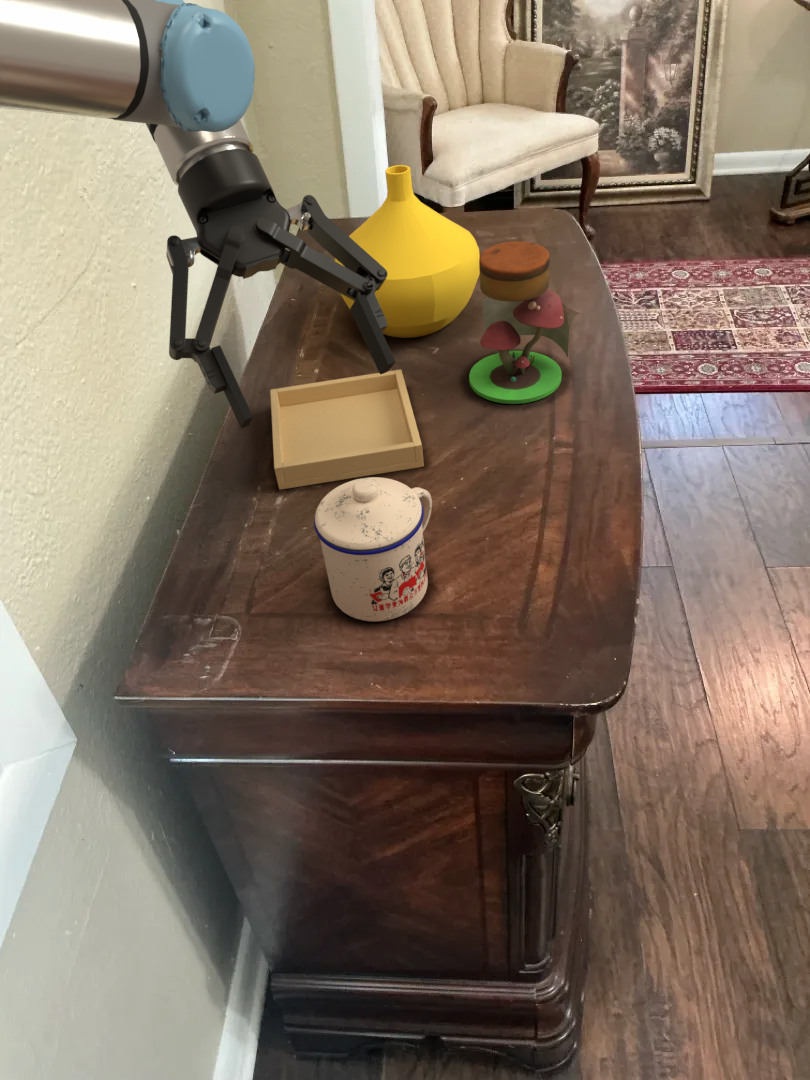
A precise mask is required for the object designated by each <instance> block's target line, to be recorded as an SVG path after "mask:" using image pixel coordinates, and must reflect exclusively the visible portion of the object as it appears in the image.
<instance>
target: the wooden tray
mask: <svg viewBox="0 0 810 1080" xmlns="http://www.w3.org/2000/svg"><path fill="white" fill-rule="evenodd" d="M269 390H270V391H269V393H270V415H271V431H272V433H271V435H272V452H273V453H272V454H273V469H274V473H275V477H276V482H277V486H278V490H279V491H280V490H286V489H293V488H299V487H305V486H312V485H317V484H324V483H325V484H326V483H330V482H336V481H337V482H338V481H343V480H350V479H354V478H356V479H357V478H363V477H367V476H368V477H369V476H373V475H380V474H386V473H392V472H398V471H406V470H411V469H418V468H423V467H425V464H424V454H423V453H424V452H423V444H422V440H421V437H420V432H419V429H418V426H417V421H416V418H415V415H414V411H413V407H412V404H411V399H410V396H409V392H408V389H407V384H406V381H405V378H404V374H403V370H402V369H394V370H389V371H388V372H386V373H383V374H381V375H380V373H379V372H375V373H368V374H361V375H356V376H350V377H344V378H336V379H331V380H330V379H329V380H323V381H318V382H317V381H316V382H312V383H311V382H310V383H303V384H299V385H298V384H297V385H292V386H284V387H278V388H272V389H269Z"/></svg>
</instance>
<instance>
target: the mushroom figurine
mask: <svg viewBox="0 0 810 1080" xmlns="http://www.w3.org/2000/svg"><path fill="white" fill-rule="evenodd" d="M479 255H480V258H479V269H480V274H479V289H480V291H481V293H482V294H483V295H484V296H486V297H485V298H483V299H481V306H482V309H481V310H482V311H481V312H482V319H483V327H482V328H483V330H482V336H481V337H480V338H481V339H480V340H479V344H480V346H481V347H482V348H485V349H489V350H494V351H497V353H493V354H491V355H487V356H486V357H483V358H482V359H480V360H478V361H477V362H476V363H475V364H474V365H473V366H472V367H471V369H470V371H469V373H468V374H469V375H468V381H469V386H470V388H471V389H472V391H473V392H474V393H475V394H476V395H478V396H479V397H481V398H482V399H485V400H487V401H491V402H495V403H498V404H507V405H520V404H529V403H532V402H536V401H539V400H542V399H545V398H546V397H548V396H550V395H552V394H553V393H554V392H555V391H557V389H558V388H559V387H560V386H561V382H562V376H563V375H562V373H563V372H562V369H561V367H560V365H559V364H558V363H557V362H556V361H555V360H554V359H553V358H551V357H549V356H547V355H544V354H542V353H539V352H534V351H532V348H533V346H534V345H536V344H537V343H538V342H539V340H540V339H541V338H542V337H544V338H548V339H550V340H552V341H553V342H554V343H555V344H557V345H558V346H559V348H561V350H562V351H563V352H564V354H565V356H566V357H567V358H569V338H570V329H571V325H572V323H573V321H574V318H575V317H576V316H578V315H580V312H578V311H576V310H573V309H572V308H570V307H567V306H566V305H565V304H563V302H562V299H561V298H560V296H559V294H557V293H556V292H554V291H552V290H551V289H549V287H550V261H551V260H550V252H549V251H548V249H546V248H545V247H544V246H542V245H540V244H537V243H534V242H530V241H522V240H521V241H506V242H500V243H497V244H494V245H492V246H489V247H488V248H486V249H484V251H482V252H481V254H479ZM521 336H533V337H532V339H531V340H529V341H528V342H527V343H526V345H525V346H524V348H523V350H513V349H515V348H517V347H518V346H519V345H520V344H521V342H522V340H521Z"/></svg>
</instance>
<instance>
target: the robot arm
mask: <svg viewBox="0 0 810 1080" xmlns="http://www.w3.org/2000/svg"><path fill="white" fill-rule="evenodd" d="M255 72H256V63H255V59H254V54H253V50H252V47H251V44H250V41H249V39H248V37H247V35H246V34H245V32H244V30H243V29H242V27H240V25H239V23H238V22H236V20H234V19H233V18H232V17H231V16H230V15H228V14H227V13H226V12H224V11H221V10H218V9H215V8H209V7H203V6H200V5H198V4H196V3H191V2H185V1H184V0H0V109H7V110H16V111H26V112H27V111H28V112H35V113H36V112H38V113H47V114H59V115H67V116H76V117H87V118H97V119H98V118H99V119H107V120H114V121H120V122H130V123H139V124H145V125H146V127H147V129H148V131H149V133H150V135H151V138H152V140H153V142H154V143H155V145H156V147H157V148H158V151H159V153H160V156H161V158H162V160H163V163H164V165H165V166H166V169H167V171H168V174H169V176H170V178H171V181H172V182H173V183H174V185H176V187H177V193H178V196H179V198H180V200H181V203H182V205H183V207H184V210H185V211H186V213H187V216H188V218H189V219H190V222H191V224H192V226H193V228H194V230H195V233H196V236H194V237H188V238H183V239H181V237H180V236H178V235H176V234H175V235H170V236H169V237H168V238H167V240H166V259H167V262H168V265H169V268H170V271H171V274H172V284H171V300H170V301H171V302H170V303H171V305H170V322H169V325H170V326H169V340H168V344H169V345H168V355H169V357H170V358H171V359H172V360H174V361H180V360H182V359H190V360H193V361H194V363H197V366H198V368H199V370H200V371H201V374H202V376H203V378H204V380H205V383H206V384H207V386H208V388H209V391H210V392H211V393H213V394H214V395H215V394H220V393H221V392H223V393H224V395H225V398H226V399H227V401H228V403H229V406H230V409H231V410H232V411H233V414H234V417H235V419H236V421H237V423H238V426H239V427H240V429H245V428H246V427H248V426H250V424H251V422H252V420H253V418H254V415H253V413H252V411H251V409H250V407H249V405H248V402H247V401H246V398H245V396H244V394H243V392H242V390H241V387H240V386H239V383H238V381H237V379H236V377H235V375H234V372H233V371H232V368H231V366H230V364H229V362H228V359H227V357H226V355H225V353H224V351H223V348H222V347H221V345H220V344H219V345H216V346H213V347H210V346H211V343H212V341H213V340H212V339H213V337H214V334H215V330H216V327H217V324H218V321H219V319H220V314H221V311H222V307H223V304H224V301H225V298H226V295H227V291H228V290H229V286H230V284H231V279H232V277H233V276H234V277H239V278H242V279H243V280H245V279H248V278H251V277H253V276H255V275H256V274H258V273H259V272H260V273H261V272H271V271H273V270H276V269H277V266H279V265H280V264H282V265H283V266H285V267H287V268H289V269H292V270H298V271H300V272H301V273H303V274H305V275H307V276H308V277H310V278H311V279H312V278H313V279H314V280H316V281H317V282H319V283H321V284H323V285H325V286H326V287H328V288H330V289H332V290H334V291H335V292H337V293H339V294H340V293H341V294H343V295H345V296H346V297H348V298H350V299H352V300H354V303H353V305H352V306H351V308H350V309H349V311H350V312H351V314H352V316H353V319H354V321H355V323H356V325H357V327H358V330H359V332H360V334H361V336H362V338H363V340H364V342H365V343H364V344H365V345H366V347H367V350H368V351H369V353H370V357H371V358H372V360H373V362H374V365H375V366H376V368H377V371H378V373H380V375H381V374H383V373H386V372H388V371H391V369H392V367H394V365H395V364H396V360H395V357H394V355H393V352H392V350H391V348H390V346H389V343H388V342H387V340H386V338H385V334H383V333H382V332H383V331H384V330H385V328H386V327H387V320H386V318H385V316H384V313H383V311H382V309H381V307H380V305H379V303H378V300H377V298H376V296H375V291H377V290H379V289H380V287H381V286H382V284H383V283H384V281H385V279H386V278H387V275H388V273H387V271H386V269H385V268H384V267H383V266H381V265H380V264H379V263H378V262H377V261H376V260H375V259H374V258H372V257H371V256H370V255H369V254H368V253H367V252H366V251H365V250H363V249H362V248H361V247H360V246H359V245H358V244H357V243H356V242H354V241H353V240H352V239H351V238H350V237H349V236H350V235H348V234H347V233H346V232H345V231H343V230H342V229H341V228H340V227H339V226H338V225H337V224H336V223H334V222H333V221H332V220H331V219H330V218H329V217H328V216H326V214H325V213H324V211H323V209H322V208H321V206H320V204H319V202H318V201H317V199H316V198H315V196H313V195H312V194H307V195H304V196H303V198H302V200H301V202H299V203H298V204H296V205H294V206H291V207H289V208H285V207H283V205H281V204H280V202H279V201H278V200H277V197H276V194H275V191H274V189H273V187H272V185H271V183H270V180H269V179H268V176H267V173H266V171H265V170H264V168H263V166H262V162H261V161H260V159H259V157H258V155H256V154H255V153H254V145H253V144H252V141H251V138H250V137H249V134H248V132H247V130H246V129H245V126H244V125H243V123H242V120H241V119H242V118H243V117H244V116H245V115H246V113H247V111H248V109H249V107H250V104H251V102H252V99H253V96H254V91H255V89H254V88H255V81H256V78H255ZM291 225H295V226H297V227H298V228H299V229H300V231H302V232H304V231H307V233H308V234H309V236H310V237H311V238H312V239H313V240H314V242H317V244H319V245H320V247H322V248H323V249H324V250H325V251H326V252H328V253H329V254H330V255H331V256H332V257H333V258H334V259H332V258H330V257H328V256H327V255H324V254H323V253H321V252H319V251H318V250H316V249H315V248H312V247H310V246H309V245H307V244H306V241H304V240H303V239H302V238H301V237H298V236H297V235H295V234H294V233H292V232H290V229H291ZM197 254H200V255H201V256H202V257H204V258H206V259H207V260H209V261H210V262H212V263H214V264H215V265H216V266H217V267H216V270H215V273H214V277H213V280H212V283H211V287H210V290H209V293H208V297H207V299H206V303H205V306H204V308H203V309H204V310H203V312H202V315H201V318H200V322H199V325H198V328H197V331H196V333H195V337H194V338H191V337H190V338H189V337H188V338H186V336H187V335H186V332H187V313H188V312H187V310H188V291H189V290H188V289H189V268H191V267H192V266H194V264H195V260H196V259H195V258H196V255H197ZM335 258H336V259H337V260H338V261H339V262H340V263H341V264H342V265H344V266H345V267H344V266H342V265H341V264H339V263H337V262H335ZM341 294H340V295H341Z"/></svg>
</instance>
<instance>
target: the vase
mask: <svg viewBox="0 0 810 1080" xmlns="http://www.w3.org/2000/svg"><path fill="white" fill-rule="evenodd" d="M411 171H412V169H411V167H410V166H409V165H407V164H406V165H405V164H398V165H392V166H388V167H386V169H385V172H384V173H385V181H386V190H387V191H386V198H385V200H384V201H383V203H382V204H381V206H380V207H379V208H377V210H375V211H374V213H372V214H371V215H370V216H369V217H368V218H367V219H366V220H365V221H364V222H363V223H362V224H361V225H360V226H358V228H356V229H355V230H354V231H353V232H352V233H351V234H349V235H348V236H349V237H350V238H351V239H352V240H353V241H354V242H356V243H357V244H358V245H359V246H360V247H361V248H362V249H363V250H365V251H366V252H367V253H368V254H369V255H370V256H371V257H372V258H374V259H375V260H376V261H377V262H378V263H379V264H380V265H381V266H383V267H384V268H385V269H386V271H387V273H388V275H387V278H386V279H385V281H384V283H383V284H382V286H381V287H380V289H379V290H377V291H375V296H376V298H377V300H378V303H379V305H380V307H381V309H382V311H383V313H384V316H385V318H386V320H387V327H386V328H385V330H384V331H383V332H382V333H383V335H384V336H389V337H393V338H398V339H399V338H402V339H409V338H412V339H413V338H420V337H424V336H428V335H431V334H434V333H436V332H438V331H439V330H441V329H442V330H443V328H445V327H446V326H447V325H449V324H451V323H452V322H453V321H454V320H455V319H456V318H457V317H458V316H459V315H460V314H461V312H462V311H463V310H464V309H465V307H466V306H467V305H468V303H469V301H470V299H471V297H472V295H473V293H474V290H475V288H476V285H477V282H478V279H479V278H480V269H479V258H480V255H481V254H480V248H479V246H478V243H477V241H476V238H475V237H474V235H473V234H472V233H471V232H470V230H468V229H466V228H464V227H462V226H461V225H459V224H458V223H456V222H454V221H452V220H450V219H449V218H447V217H445V216H444V215H442V214H440V213H438V212H437V211H435V210H434V209H433V208H431V207H430V206H428V205H427V204H425V203H423V202H421V200H420V199H419V198H418V197H417V196H416V195H415V193H414V190H413V182H412V172H411ZM334 261H335V262H337V263H339V264H341V263H340V262H339V261H338V260H337V259H336V258H334ZM341 265H342V264H341ZM342 266H344V265H342ZM344 267H345V266H344ZM339 294H340V296H341V298H342V300H343V301H344V303H346V305H347V307H348V309H349V310H350V308H351V306H352V305H353V303H354V300H352V299H350V298H348V297H346V296H345V295H343V294H341V293H339Z"/></svg>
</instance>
